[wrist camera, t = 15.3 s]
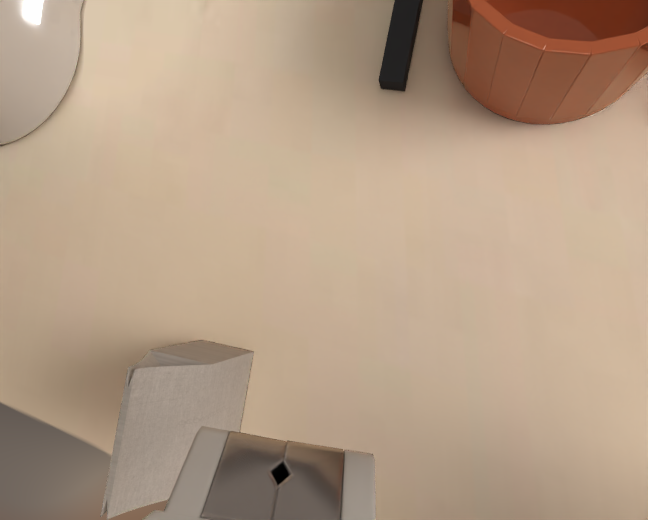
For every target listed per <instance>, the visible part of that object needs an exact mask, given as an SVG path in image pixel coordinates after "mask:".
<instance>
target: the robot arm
mask: <svg viewBox="0 0 648 520" xmlns="http://www.w3.org/2000/svg"><path fill="white" fill-rule="evenodd" d="M83 1H84V0H0V145H2V144H6V143H10V142H13V141H15V140H18V139H20V138H22V137H24V136H25V135H27V134H29V133H30V132H32V131H33V130H35V129H36V128H37V127H38V126H40V125H41V124H42V123H43V122H44V121H45V120H46V119H47V118H48V117H49V116H50V115H51V114H52V112H53V111H54V110H55V109H56V107H57V106H58V105H59V103H60V102H61V100H62V99H63V97H64V95H65V94H66V92H67V90H68V88H69V86H70V83H71V81H72V79H73V76H74V73H75V70H76V66H77V62H78V58H79V51H80V39H81V33H80V12H81V7H82V4H83ZM142 520H376V491H375V458H374V456H373V454H369V453H363V452H356V451H350V450H344V451H343V449H339V448H333V447H326V446H319V445H313V444H306V443H299V442H293V441H282V440H277V439H271V438H266V437H261V436H256V435H250V434H245V433H240V432H235V431H227V430H222V429H216V428H211V427H206V426H202V427H201V428H200V429H199V431H198V432H197V433H196V435H195V438H194V440H193V443H192V445H191V447H190V450H189V452H188V454H187V457H186V459H185V462H184V464H183V466H182V469H181V471H180V474H179V476H178V478H177V481H176V483H175V485H174V488H173V490H172V493H171V495H170V497H169V500H168V502H167V504H166V507H165V509H164V511H158V510H154V511H153V512H151V513H150V514H149V515H147V516H146V517H145V518H143V519H142Z"/></svg>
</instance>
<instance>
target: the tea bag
mask: <svg viewBox="0 0 648 520" xmlns="http://www.w3.org/2000/svg"><path fill="white" fill-rule="evenodd" d="M253 353H254V352H253V351H249V350H244V349H240V348H235V347H231V346H226V345H222V344H217V343H213V342H208V341H204V340H200V341H194V342H189V343H184V344H179V345H173V346H168V347H163V348H158V349H152V350H149V351H148V353H147V354H146V355H145V356H144V357H143V359H142V360H141V361H139V362H138V363H136V364H135V365H133V366H130V367H128V371H127V376H126V382H125V387H124V392H123V398H122V403H121V408H120V414H119V419H118V425H117V430H116V435H115V441H114V446H113V452H112V457H111V462H110V468H109V473H108V479H107V484H106V489H105V495H104V500H103V505H102V511H101V516H102V515H103V514H104V513H105V512H106V511H107V519H110V518H112V517H114V516H117V515H119V514H121V513H124V512H127V511H130V510H134V509H137V508H140V507H143V506H146V505H150V504H153V503H157V502H161V501H165V500H168V499H169V497H170V495H171V493H172V490H173V488H174V485H175V483H176V481H177V478H178V476H179V474H180V471H181V469H182V466H183V464H184V462H185V459H186V457H187V454H188V452H189V450H190V447H191V445H192V443H193V440H194V438H195V435H196V433H197V432H198V431H199V429H200V428H201V427H202V426H206V427H211V428H216V429H222V430H227V431H235V432H240V426H241V421H242V415H243V409H244V404H245V398H246V393H247V387H248V381H249V376H250V370H251V365H252V359H253ZM101 516H100V517H101Z"/></svg>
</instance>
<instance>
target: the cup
mask: <svg viewBox="0 0 648 520" xmlns="http://www.w3.org/2000/svg"><path fill="white" fill-rule="evenodd" d="M447 31H448V47H449V53H450V58H451V61H452V64H453V67H454V70H455V72H456V74H457V76H458V78H459V80H460V82H461V83H462V84H463V86H464V87H465V89H466V90H467V91H468V92H469V93H470V94H471V95H472V96H473V98H474V99H476V100H477V101H478V102H479V103H481V104H482V105H483V106H484V107H486V108H488V109H489V110H491V111H493V112H494V113H496V114H499V115H501V116H503V117H506V118H508V119H512V120H515V121H519V122H525V123H531V124H556V123H564V122H569V121H574V120H577V119H580V118H583V117H586V116H589V115H591V114H594V113H596V112H598V111H600V110H602V109H604V108H606V107H607V106H609V105H610V104H612V103H614V102H615V101H616V100H618V99H619V98H620V97H621V96H623V95H624V94H625V93H626V92H627V91H628V90H629V89H630V88H631V87H632V86H633V85H634V84H635V83H636V82H638V81H639V80H640V79H641V78H642V77H643V76H644V75H645V74H646V73H647V72H648V0H448V14H447Z"/></svg>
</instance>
